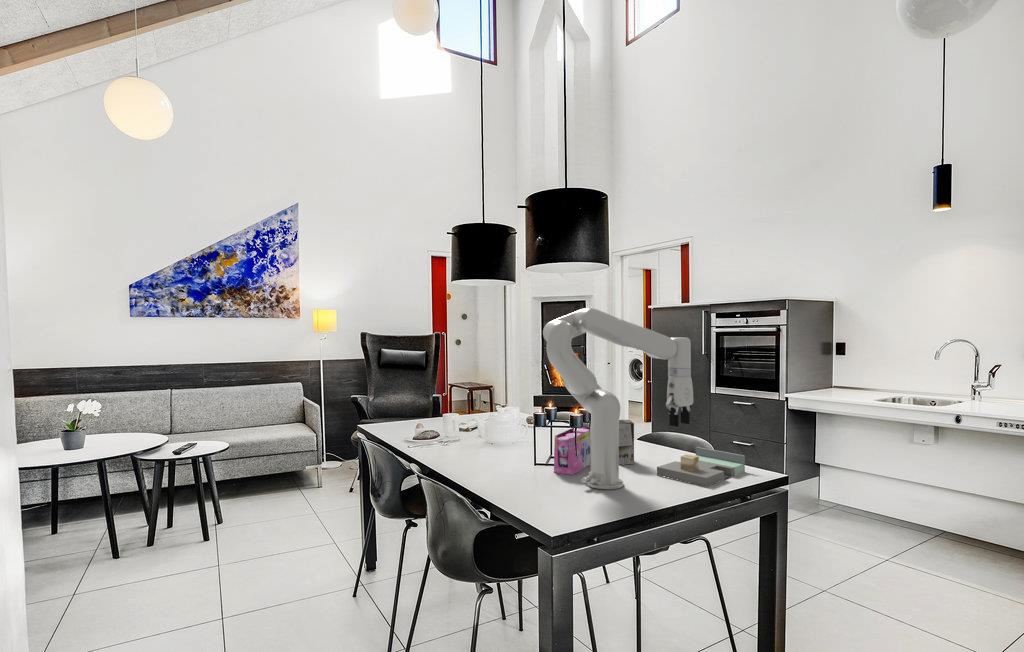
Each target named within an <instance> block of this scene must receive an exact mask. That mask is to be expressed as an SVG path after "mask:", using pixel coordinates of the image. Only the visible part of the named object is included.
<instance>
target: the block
mask: <svg viewBox="0 0 1024 652" xmlns="http://www.w3.org/2000/svg"><path fill="white" fill-rule="evenodd" d="M680 462H681V469H683V470H687V471H695V470H698V469H699V456H694V455H693V454H685V455H681V456H680Z"/></svg>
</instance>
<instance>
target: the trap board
mask: <svg viewBox="0 0 1024 652" xmlns="http://www.w3.org/2000/svg"><path fill="white" fill-rule="evenodd" d="M694 456H699V469H698V470H695V471H687V470H683V469H681V461H677V460H675V461H672V462H669V463H665V464H663V465H658V466H656V476H658V475H660V476H659V477H662V476H665V477H664V478H666V477H669V478H668V479H671V478H673V479H672V480H675V479H678V480H677V481H679V480H682V481H681V482H683V481H686V482H685V483H688V482H690V483H689V484H692V483H694V484H693V485H696V484H698V485H697V486H700V485H703V486H702V487H705V486H707V487H710V486H712V485H711V484H713V485H715V484H717V483H716V482H718V483H720V482H722V480H723V481H725V480H727V478H728V479H730V478H732V477H731V476H733V477H735V476H737V475H736V474H738V475H740V474H742V472H743V473H745V471H746V467H745V460H746V457H745V455H743V454H738V453H734V452H727V451H722V450H716V449H712V448H711V449H710V448H704V447H699V446H695V455H694ZM739 473H740V474H739ZM734 475H735V476H734ZM729 477H730V478H729ZM724 479H725V480H724ZM719 481H720V482H719ZM714 483H715V484H714ZM709 485H710V486H709Z"/></svg>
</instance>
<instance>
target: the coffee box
mask: <svg viewBox="0 0 1024 652" xmlns="http://www.w3.org/2000/svg"><path fill="white" fill-rule="evenodd" d="M618 439H619V464H634V465H635V423H634V422H632V420H630V419H619V430H618Z"/></svg>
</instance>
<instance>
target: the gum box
mask: <svg viewBox="0 0 1024 652" xmlns="http://www.w3.org/2000/svg"><path fill="white" fill-rule="evenodd" d="M578 427H579V428H578V430H577V456H576V451H575V429H574V427H571V428H570V429H567V430H565V431H563V432H561V433H560V432H559V433H558V434H556V435H554V448H553V449H554V450H553V451H554V453H553V473H555V474H556V473H557V474H562V475H570V476H574V475H575V474H577V473H579V472H580V471H582V470H584V469H585V468H587V467H588V466H590V465H589V464H590V427H587V426H578ZM586 466H587V467H586Z"/></svg>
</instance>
